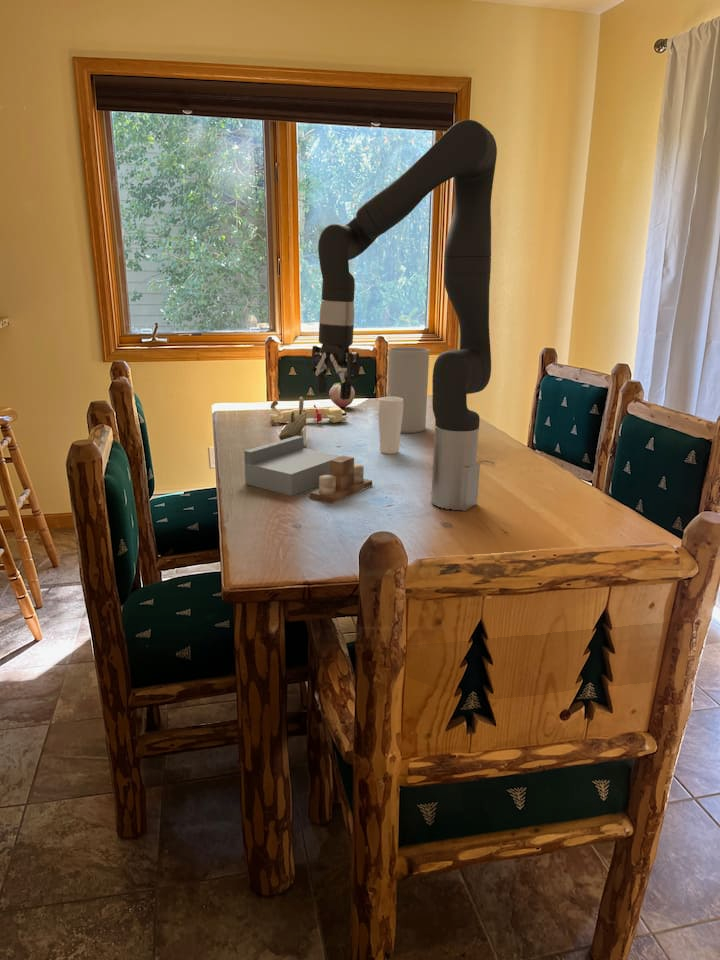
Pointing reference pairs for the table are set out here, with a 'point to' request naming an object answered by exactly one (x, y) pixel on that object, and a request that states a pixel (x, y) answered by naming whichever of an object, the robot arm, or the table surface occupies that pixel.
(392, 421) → the drinking glass
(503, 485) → the table surface
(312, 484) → the grey stepped block
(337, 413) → the cat figure
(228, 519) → the table surface
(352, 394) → the decorative fruit
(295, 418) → the wood carving
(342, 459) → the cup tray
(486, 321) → the robot arm
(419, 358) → the cylinder vase
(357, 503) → the table surface
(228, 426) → the table surface
